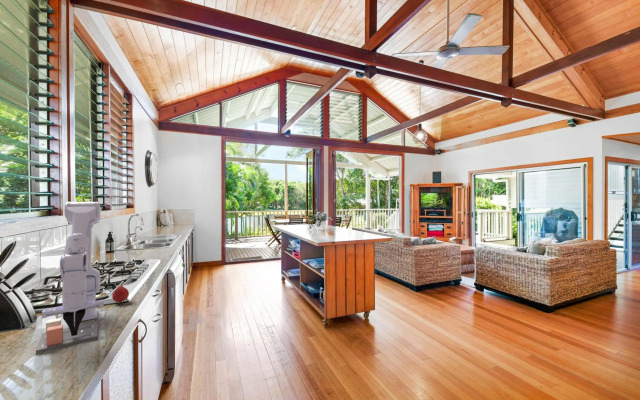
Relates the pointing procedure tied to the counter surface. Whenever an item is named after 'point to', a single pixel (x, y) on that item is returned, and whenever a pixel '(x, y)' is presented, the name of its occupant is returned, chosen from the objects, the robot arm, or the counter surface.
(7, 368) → the counter surface
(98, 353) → the counter surface
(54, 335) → the block
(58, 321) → the fader cream
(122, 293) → the onion
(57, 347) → the grey base plate
